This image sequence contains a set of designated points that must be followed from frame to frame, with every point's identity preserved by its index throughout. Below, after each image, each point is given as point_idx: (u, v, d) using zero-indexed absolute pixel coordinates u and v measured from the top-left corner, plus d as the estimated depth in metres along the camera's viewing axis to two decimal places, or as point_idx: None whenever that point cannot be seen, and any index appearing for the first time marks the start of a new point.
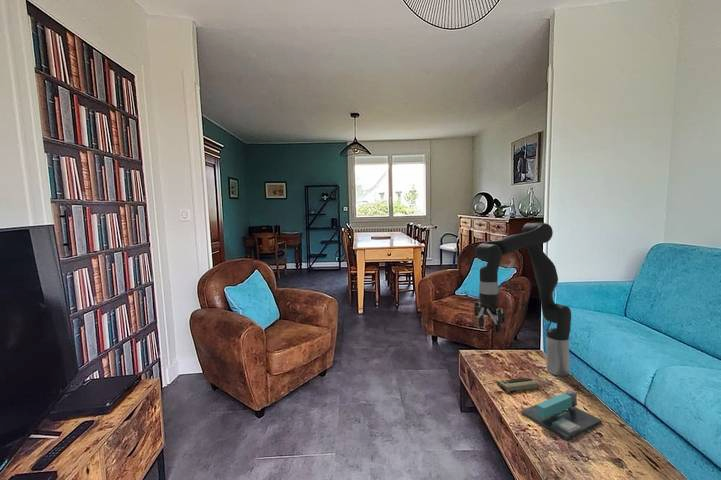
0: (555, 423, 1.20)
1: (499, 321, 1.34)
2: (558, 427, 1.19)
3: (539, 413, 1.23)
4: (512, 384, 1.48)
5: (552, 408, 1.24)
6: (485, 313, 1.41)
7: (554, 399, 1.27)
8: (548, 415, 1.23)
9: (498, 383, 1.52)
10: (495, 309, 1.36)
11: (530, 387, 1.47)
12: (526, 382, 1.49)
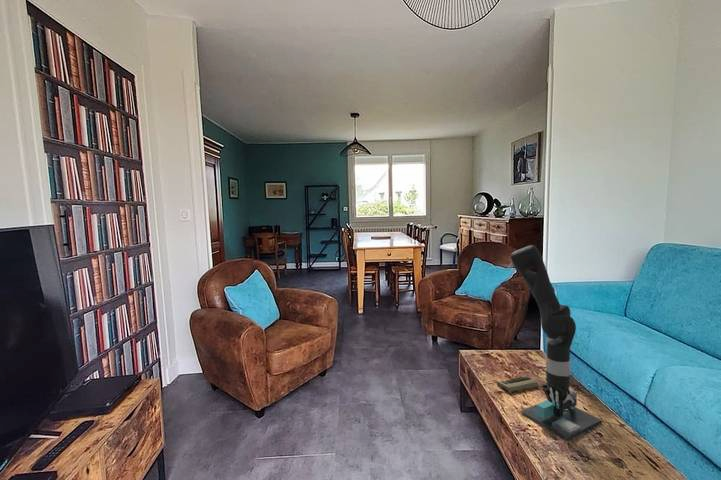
0: (555, 423, 1.20)
1: None
2: (558, 427, 1.19)
3: (538, 413, 1.23)
4: (513, 384, 1.48)
5: (552, 408, 1.24)
6: None
7: None
8: (548, 415, 1.23)
9: (498, 384, 1.51)
10: None
11: (530, 386, 1.48)
12: (526, 381, 1.50)
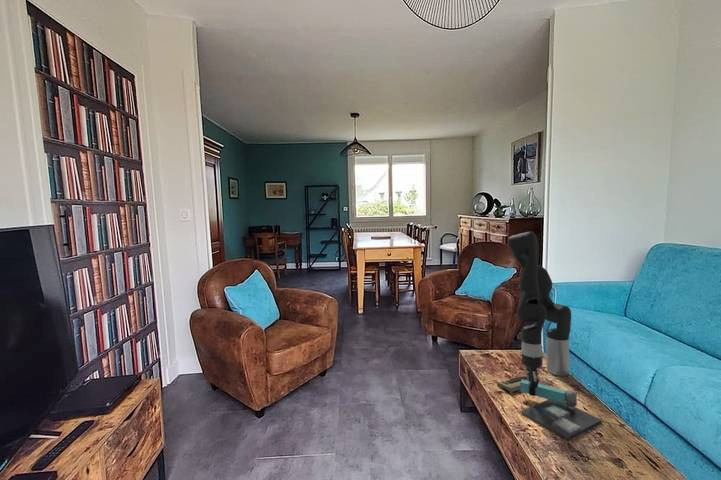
0: (555, 423, 1.20)
1: None
2: (558, 427, 1.19)
3: None
4: (514, 384, 1.47)
5: None
6: None
7: (544, 386, 1.37)
8: (526, 391, 1.39)
9: (499, 384, 1.50)
10: None
11: None
12: None
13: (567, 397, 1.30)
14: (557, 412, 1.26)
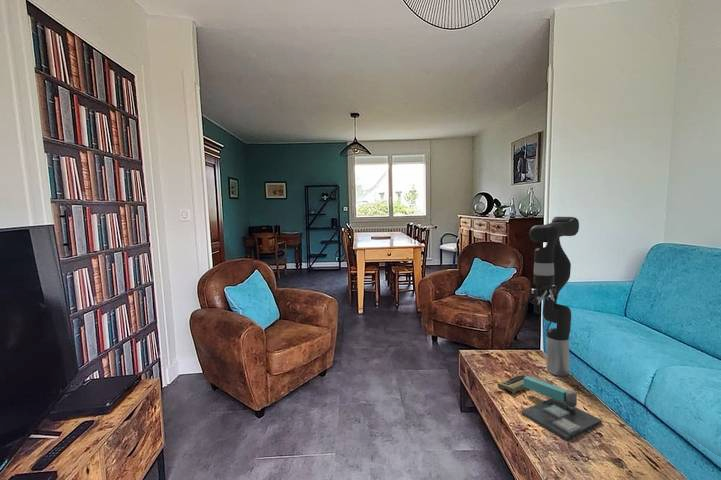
0: (555, 423, 1.20)
1: (556, 296, 1.42)
2: (558, 427, 1.19)
3: None
4: (515, 384, 1.47)
5: (535, 385, 1.40)
6: (544, 296, 1.39)
7: (547, 384, 1.38)
8: (529, 387, 1.42)
9: (500, 385, 1.50)
10: None
11: None
12: None
13: (566, 396, 1.30)
14: (557, 412, 1.26)
